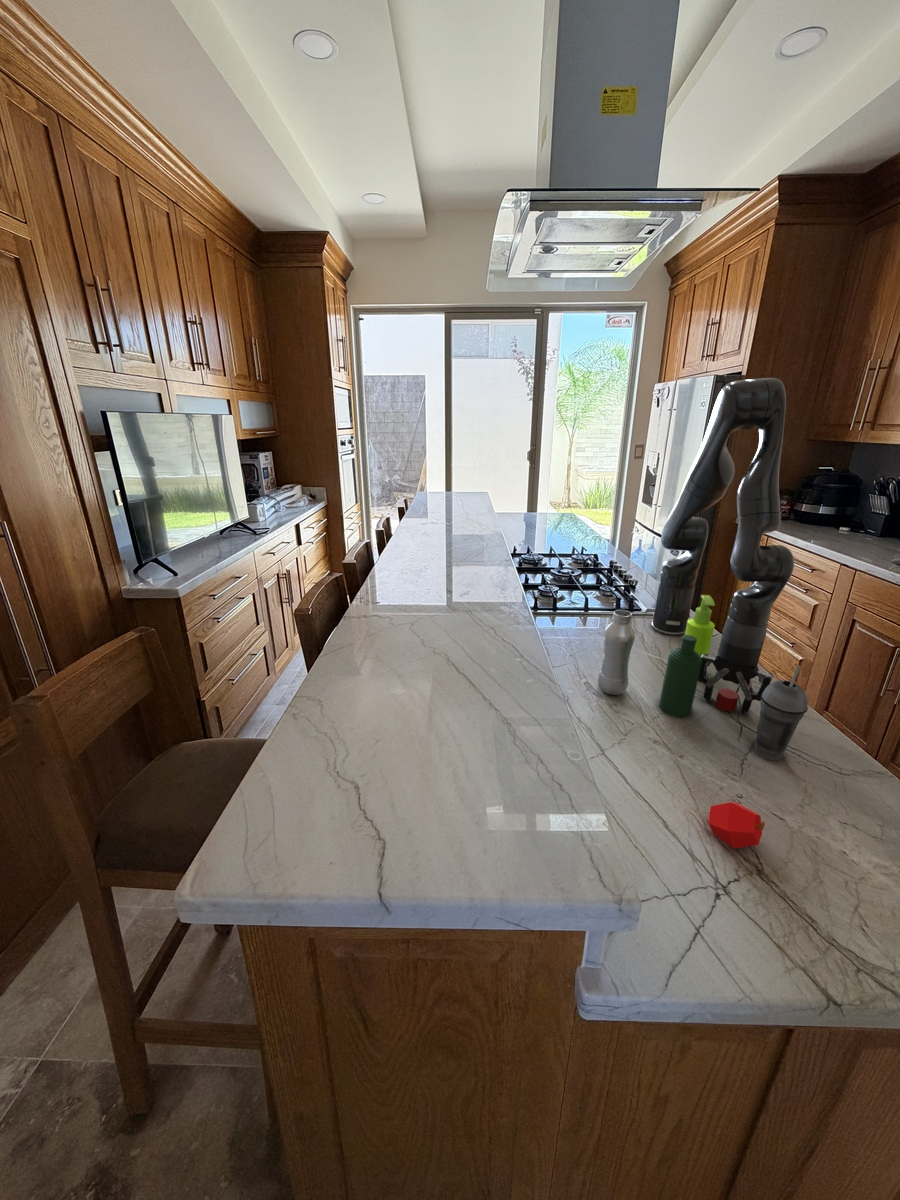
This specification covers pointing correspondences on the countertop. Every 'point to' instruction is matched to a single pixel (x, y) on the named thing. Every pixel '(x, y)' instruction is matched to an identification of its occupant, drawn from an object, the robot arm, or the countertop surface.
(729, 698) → the cap
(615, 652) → the plastic bottle
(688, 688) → the oil bottle
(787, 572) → the robot arm
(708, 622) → the soap dispenser
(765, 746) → the beverage cup
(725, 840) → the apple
